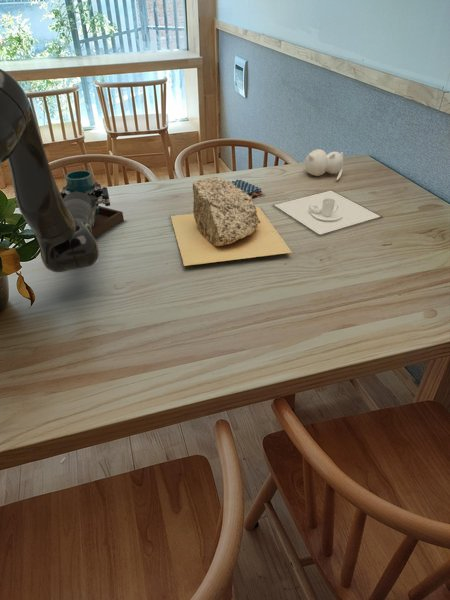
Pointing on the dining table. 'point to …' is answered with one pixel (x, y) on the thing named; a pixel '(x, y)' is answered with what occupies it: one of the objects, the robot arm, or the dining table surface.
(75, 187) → the cup
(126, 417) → the dining table surface
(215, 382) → the dining table surface
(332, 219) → the teacup and saucer
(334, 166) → the cat figurine
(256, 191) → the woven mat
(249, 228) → the rock
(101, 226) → the tray
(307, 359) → the dining table surface
